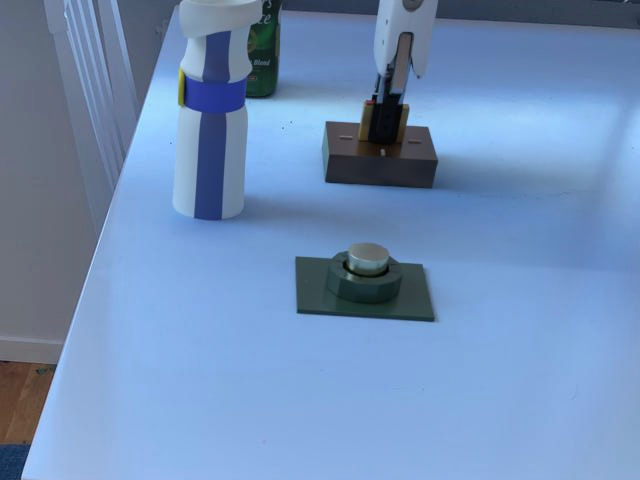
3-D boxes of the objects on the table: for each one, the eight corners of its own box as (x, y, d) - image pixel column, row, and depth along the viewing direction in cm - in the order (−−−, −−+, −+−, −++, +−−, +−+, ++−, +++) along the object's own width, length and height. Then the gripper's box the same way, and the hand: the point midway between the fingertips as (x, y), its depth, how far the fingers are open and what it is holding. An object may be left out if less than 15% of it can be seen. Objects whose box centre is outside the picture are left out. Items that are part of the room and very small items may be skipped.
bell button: (383, 262, 86) (387, 243, 84) (386, 281, 83) (390, 262, 82) (344, 260, 86) (347, 241, 84) (346, 279, 83) (349, 259, 82)
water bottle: (166, 221, 98) (175, -73, 80) (170, 187, 104) (178, -95, 85) (245, 224, 98) (272, -70, 80) (244, 190, 104) (269, -92, 85)
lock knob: (401, 138, 107) (409, 101, 104) (402, 143, 106) (410, 106, 103) (357, 135, 107) (364, 99, 104) (358, 140, 106) (364, 103, 104)
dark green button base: (417, 285, 90) (427, 245, 87) (428, 340, 84) (440, 298, 81) (292, 278, 91) (297, 237, 88) (294, 331, 84) (300, 289, 81)
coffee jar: (202, 95, 123) (211, -80, 110) (209, 75, 129) (219, -94, 115) (275, 101, 123) (294, -74, 109) (280, 81, 128) (298, -89, 114)
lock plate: (422, 153, 112) (428, 125, 110) (431, 188, 105) (438, 158, 103) (321, 147, 113) (325, 119, 110) (324, 182, 106) (329, 152, 104)
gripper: (466, -38, 88) (421, 167, 101) (445, -77, 98) (407, 114, 112) (385, -42, 88) (351, 163, 102) (373, -80, 98) (343, 111, 112)
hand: (380, 136), depth 107 cm, fingers closed
